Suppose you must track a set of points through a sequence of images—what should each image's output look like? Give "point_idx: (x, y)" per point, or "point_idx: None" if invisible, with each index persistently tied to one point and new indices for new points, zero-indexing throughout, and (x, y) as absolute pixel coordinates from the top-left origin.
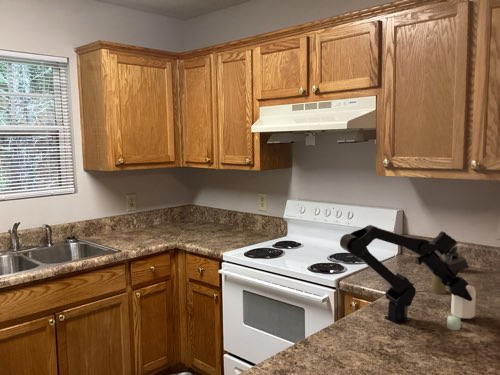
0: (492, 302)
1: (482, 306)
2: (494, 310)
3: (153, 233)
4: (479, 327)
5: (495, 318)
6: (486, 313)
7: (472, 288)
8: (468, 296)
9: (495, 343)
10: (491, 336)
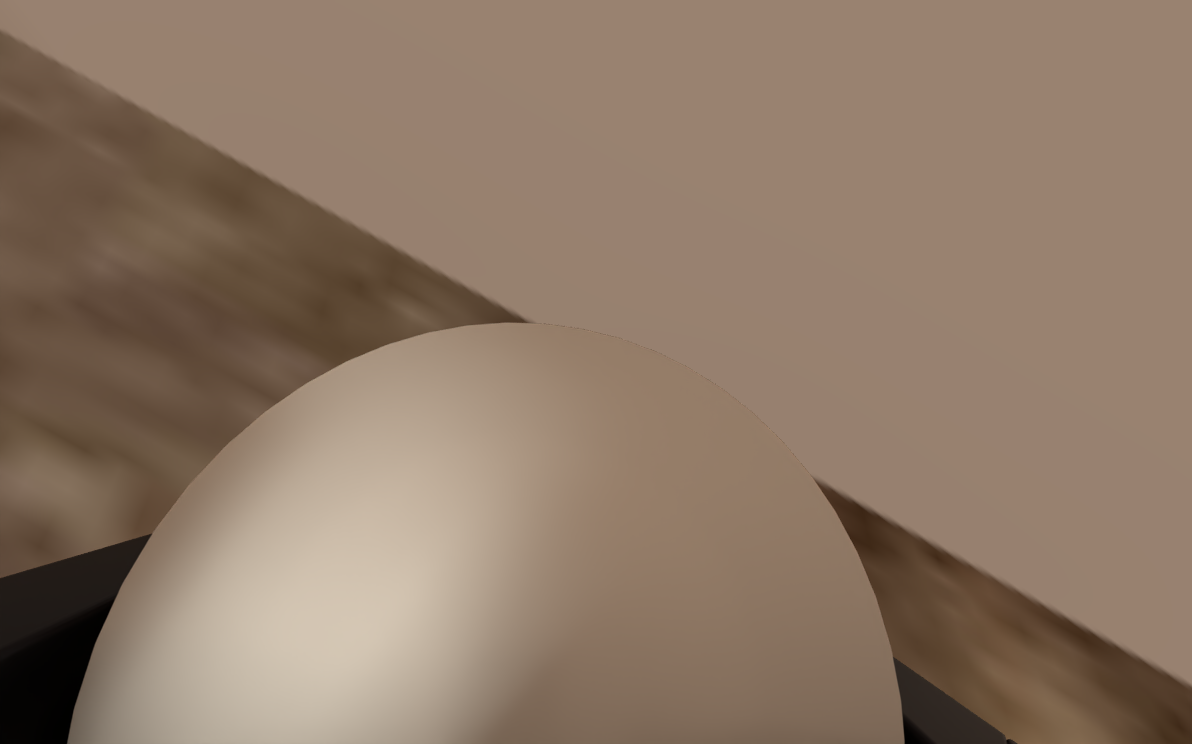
0: (126, 124)
1: (190, 256)
2: (330, 220)
3: None
4: None
5: (527, 320)
6: (390, 325)
7: (690, 434)
8: None
9: (1138, 656)
10: (980, 604)
